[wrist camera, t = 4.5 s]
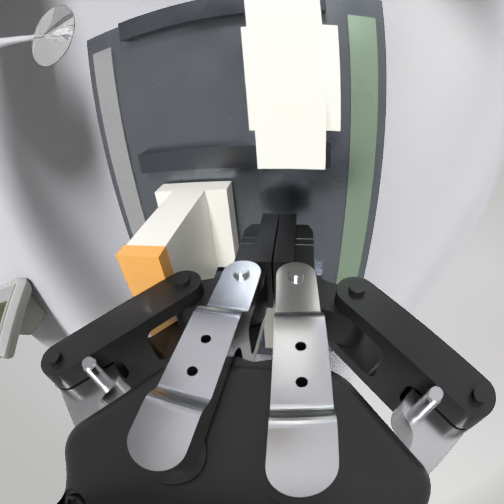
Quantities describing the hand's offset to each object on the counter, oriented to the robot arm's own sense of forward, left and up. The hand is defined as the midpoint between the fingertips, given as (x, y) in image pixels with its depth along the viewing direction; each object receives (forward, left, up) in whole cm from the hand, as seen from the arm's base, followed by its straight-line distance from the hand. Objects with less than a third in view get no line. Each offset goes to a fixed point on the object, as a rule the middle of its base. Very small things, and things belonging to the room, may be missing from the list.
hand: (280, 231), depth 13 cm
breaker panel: (-2, 0, -4) cm, 5 cm away
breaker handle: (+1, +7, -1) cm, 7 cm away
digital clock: (-38, -14, -5) cm, 41 cm away
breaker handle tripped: (-4, 0, -1) cm, 4 cm away
